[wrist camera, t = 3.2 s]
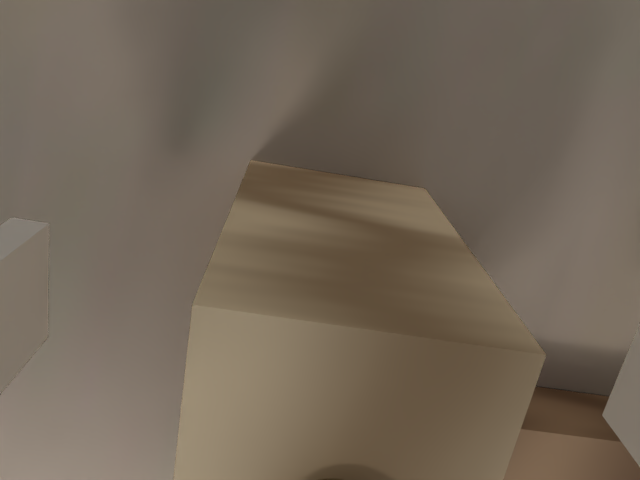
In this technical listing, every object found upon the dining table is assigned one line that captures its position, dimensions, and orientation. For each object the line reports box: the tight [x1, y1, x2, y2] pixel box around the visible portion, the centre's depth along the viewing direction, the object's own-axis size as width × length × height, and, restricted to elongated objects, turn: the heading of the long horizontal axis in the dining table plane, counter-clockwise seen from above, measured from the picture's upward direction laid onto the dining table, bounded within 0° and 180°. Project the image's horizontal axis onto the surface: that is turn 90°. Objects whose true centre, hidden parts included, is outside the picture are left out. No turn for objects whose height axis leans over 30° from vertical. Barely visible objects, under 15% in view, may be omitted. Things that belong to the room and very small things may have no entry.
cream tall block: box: [173, 160, 546, 480], centre depth 13 cm, size 5×5×10 cm
